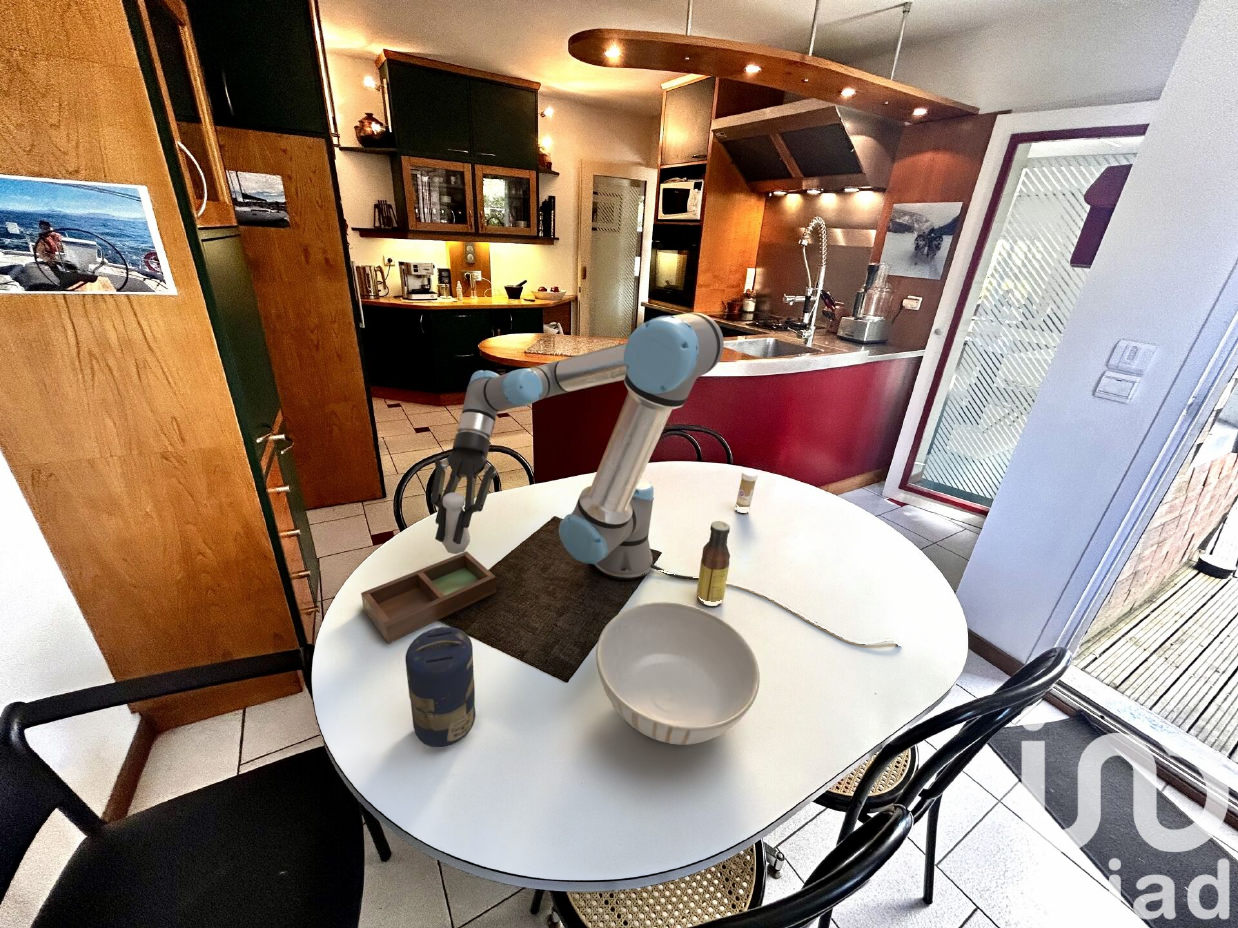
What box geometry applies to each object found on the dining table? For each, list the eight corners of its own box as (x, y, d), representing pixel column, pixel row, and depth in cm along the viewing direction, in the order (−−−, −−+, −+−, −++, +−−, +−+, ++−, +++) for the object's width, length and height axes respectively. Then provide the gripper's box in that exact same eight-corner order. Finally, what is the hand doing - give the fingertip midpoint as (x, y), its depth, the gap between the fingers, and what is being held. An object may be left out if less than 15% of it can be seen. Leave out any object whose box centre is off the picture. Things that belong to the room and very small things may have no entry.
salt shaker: (461, 558, 102) (458, 504, 97) (437, 553, 103) (432, 499, 98) (475, 543, 108) (473, 491, 102) (451, 538, 109) (448, 486, 103)
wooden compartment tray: (496, 592, 109) (495, 576, 108) (388, 643, 93) (386, 626, 92) (467, 565, 117) (466, 550, 115) (363, 609, 101) (360, 592, 99)
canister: (423, 699, 83) (414, 617, 76) (481, 699, 84) (477, 617, 77) (406, 753, 74) (393, 666, 67) (470, 752, 75) (464, 666, 68)
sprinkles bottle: (731, 510, 153) (739, 472, 147) (738, 505, 156) (746, 467, 150) (745, 516, 150) (754, 477, 145) (751, 511, 153) (760, 472, 148)
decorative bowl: (630, 811, 70) (639, 755, 65) (571, 669, 92) (574, 619, 87) (778, 750, 80) (796, 697, 75) (693, 635, 102) (702, 589, 97)
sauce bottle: (725, 596, 115) (741, 523, 106) (718, 612, 109) (734, 536, 101) (698, 586, 117) (712, 515, 109) (690, 602, 112) (704, 527, 104)
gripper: (512, 447, 112) (490, 549, 103) (443, 440, 112) (416, 540, 104) (505, 434, 105) (481, 542, 96) (432, 426, 105) (402, 532, 97)
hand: (447, 541), depth 100 cm, fingers closed on salt shaker, 3 cm apart
